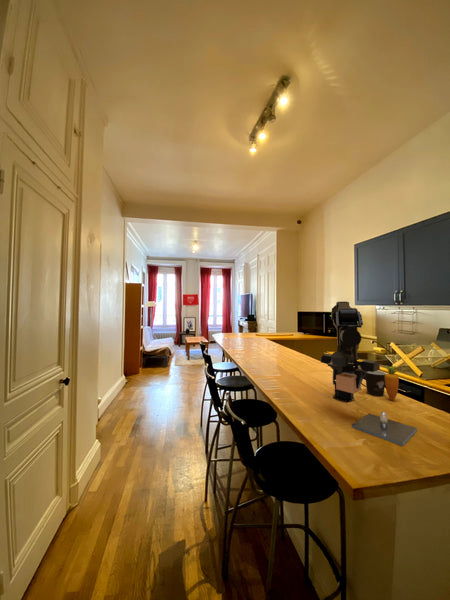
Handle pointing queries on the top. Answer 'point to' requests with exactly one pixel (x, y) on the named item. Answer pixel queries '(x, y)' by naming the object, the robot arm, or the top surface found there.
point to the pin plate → (385, 428)
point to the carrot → (391, 383)
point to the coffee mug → (375, 383)
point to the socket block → (347, 383)
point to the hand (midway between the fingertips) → (348, 386)
